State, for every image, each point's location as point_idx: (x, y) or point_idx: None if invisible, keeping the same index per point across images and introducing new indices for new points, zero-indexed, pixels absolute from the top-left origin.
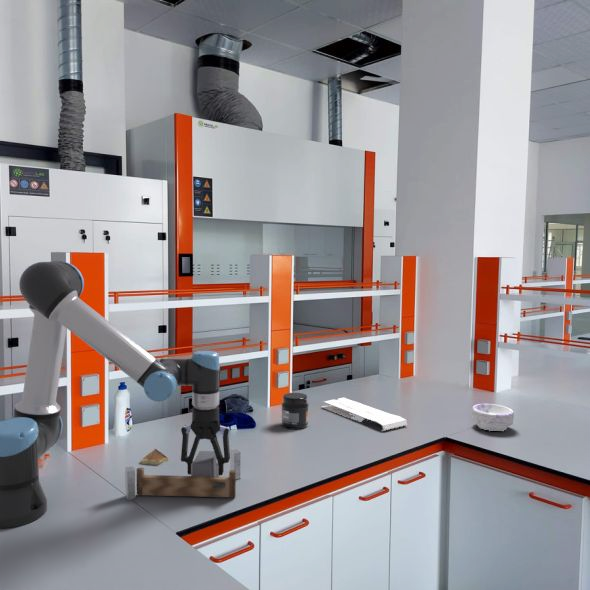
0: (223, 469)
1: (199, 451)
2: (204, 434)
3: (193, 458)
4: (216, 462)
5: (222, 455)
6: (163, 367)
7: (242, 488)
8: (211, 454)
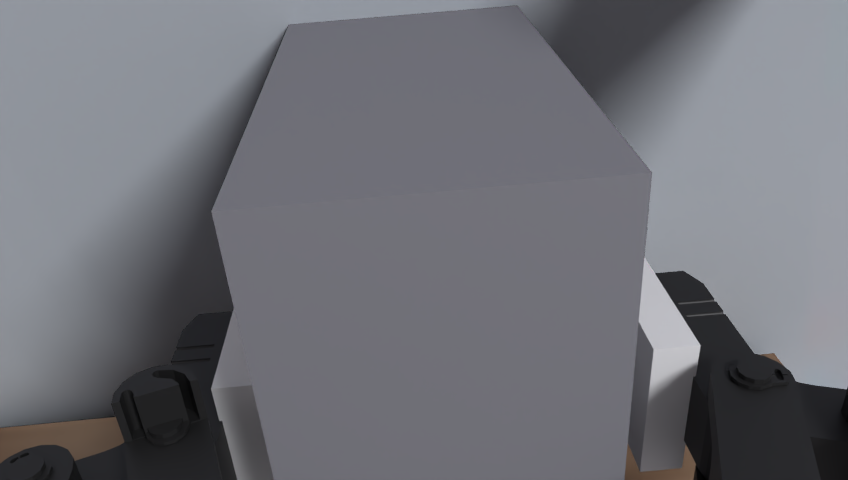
0: (717, 307)
1: (221, 245)
2: None
3: (212, 438)
4: (579, 93)
5: (809, 441)
6: None
7: (844, 165)
8: (555, 356)
